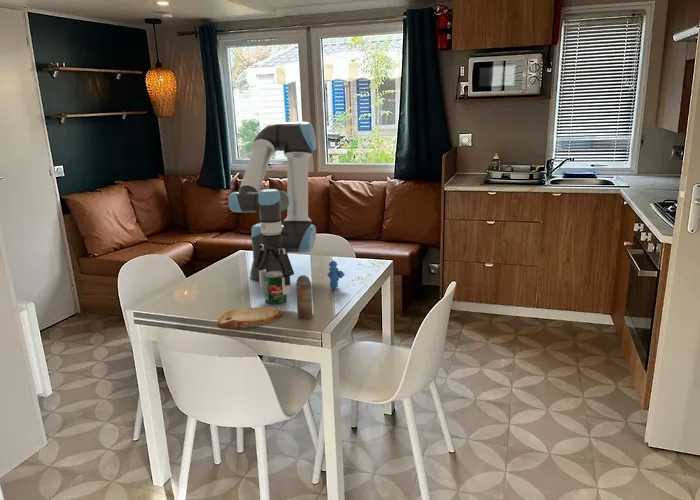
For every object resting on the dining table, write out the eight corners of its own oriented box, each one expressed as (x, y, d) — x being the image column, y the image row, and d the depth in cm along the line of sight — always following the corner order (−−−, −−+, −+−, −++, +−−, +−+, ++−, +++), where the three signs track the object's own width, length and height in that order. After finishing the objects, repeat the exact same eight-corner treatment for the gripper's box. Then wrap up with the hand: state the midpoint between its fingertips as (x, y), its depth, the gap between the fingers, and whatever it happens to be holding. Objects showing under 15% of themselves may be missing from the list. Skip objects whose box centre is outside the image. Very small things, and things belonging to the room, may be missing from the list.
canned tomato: (275, 297, 211) (273, 269, 208) (291, 301, 206) (289, 272, 204) (260, 303, 205) (258, 274, 202) (276, 307, 200) (274, 277, 198)
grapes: (345, 293, 213) (344, 263, 210) (327, 294, 213) (326, 263, 210) (345, 284, 224) (343, 255, 221) (328, 285, 224) (326, 256, 221)
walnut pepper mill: (294, 317, 190) (292, 275, 186) (306, 313, 193) (303, 272, 190) (304, 320, 186) (302, 278, 183) (315, 316, 190) (313, 275, 186)
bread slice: (285, 313, 195) (284, 303, 194) (262, 332, 178) (261, 321, 177) (239, 309, 200) (238, 299, 199) (212, 328, 184) (211, 317, 183)
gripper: (242, 230, 205) (246, 286, 210) (285, 239, 188) (288, 299, 193) (259, 227, 211) (262, 281, 215) (302, 235, 193) (304, 294, 198)
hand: (274, 290), depth 204 cm, fingers open, 13 cm apart
